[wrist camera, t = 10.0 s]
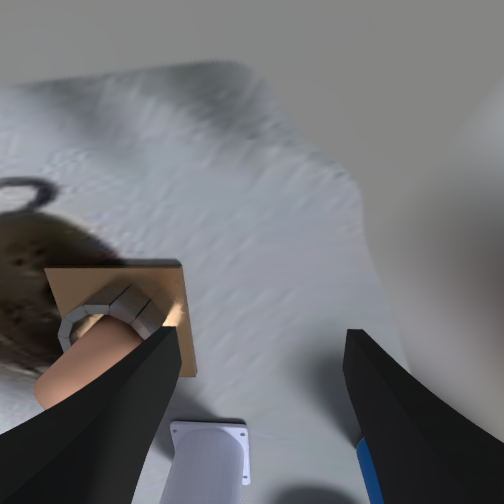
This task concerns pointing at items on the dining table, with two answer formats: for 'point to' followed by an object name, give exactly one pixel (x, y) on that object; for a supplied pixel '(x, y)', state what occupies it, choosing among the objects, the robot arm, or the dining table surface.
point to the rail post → (86, 360)
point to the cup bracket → (123, 301)
